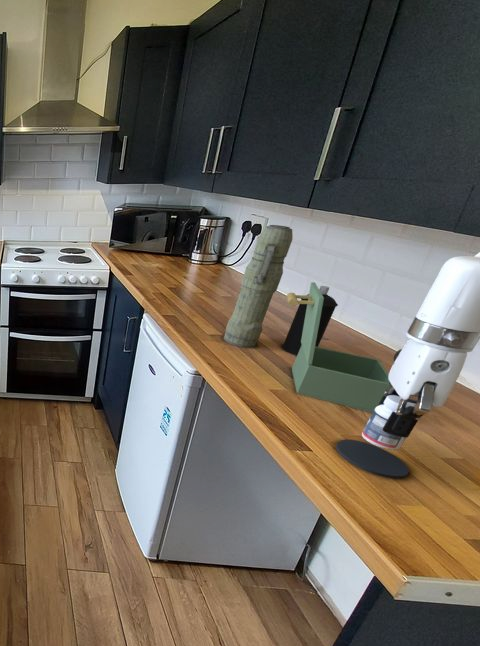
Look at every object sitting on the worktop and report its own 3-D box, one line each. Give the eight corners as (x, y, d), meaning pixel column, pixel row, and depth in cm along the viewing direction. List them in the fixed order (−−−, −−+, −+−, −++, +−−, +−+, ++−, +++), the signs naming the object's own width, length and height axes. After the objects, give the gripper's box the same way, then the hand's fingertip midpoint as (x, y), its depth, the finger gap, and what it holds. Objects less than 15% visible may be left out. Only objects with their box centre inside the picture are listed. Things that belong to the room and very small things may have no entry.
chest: (365, 386, 101) (379, 359, 98) (380, 415, 89) (396, 386, 86) (291, 368, 109) (302, 343, 105) (296, 393, 97) (308, 365, 94)
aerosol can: (320, 359, 114) (350, 293, 106) (286, 354, 117) (313, 288, 109) (309, 348, 121) (336, 284, 113) (277, 343, 124) (302, 281, 116)
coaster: (398, 454, 77) (399, 452, 77) (414, 487, 69) (416, 484, 69) (332, 435, 82) (333, 433, 82) (340, 463, 74) (342, 461, 74)
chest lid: (315, 282, 100) (286, 282, 103) (323, 297, 88) (291, 297, 91) (304, 342, 105) (278, 340, 108) (311, 364, 93) (281, 361, 96)
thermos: (256, 338, 126) (297, 225, 112) (256, 352, 117) (301, 231, 103) (223, 331, 131) (259, 222, 116) (221, 344, 122) (260, 227, 107)
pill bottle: (373, 430, 77) (395, 391, 73) (406, 448, 72) (431, 407, 69) (353, 434, 76) (375, 394, 72) (386, 452, 71) (410, 411, 67)
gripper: (502, 360, 56) (435, 460, 64) (454, 323, 70) (403, 410, 77) (428, 346, 60) (373, 442, 68) (395, 313, 73) (352, 397, 81)
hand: (389, 424), depth 72 cm, fingers closed on pill bottle, 5 cm apart
